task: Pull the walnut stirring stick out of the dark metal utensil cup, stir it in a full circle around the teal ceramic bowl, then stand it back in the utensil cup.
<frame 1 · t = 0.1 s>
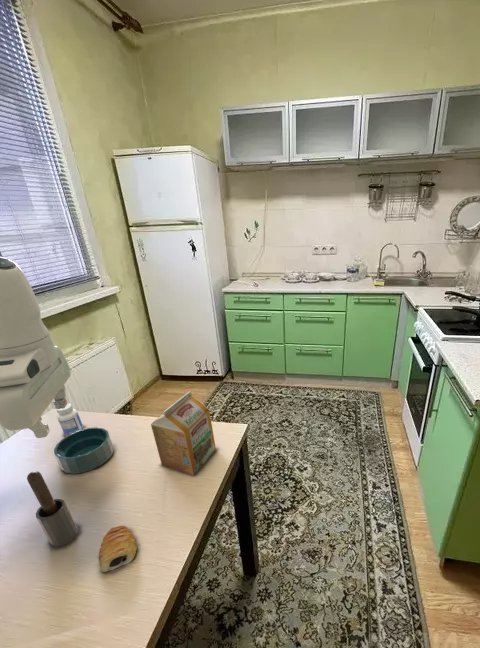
hand: (53, 420, 62), 27 cm above the table, tool pointing down, fingers open, 8 cm apart
stick: (64, 535, 70), point 1 cm above the table, touching holder
pill bottle: (74, 432, 104), on the table
holder: (65, 537, 70), on the table
pastry: (118, 553, 67), on the table
bowl: (88, 458, 92), on the table
milk carton: (189, 458, 91), on the table
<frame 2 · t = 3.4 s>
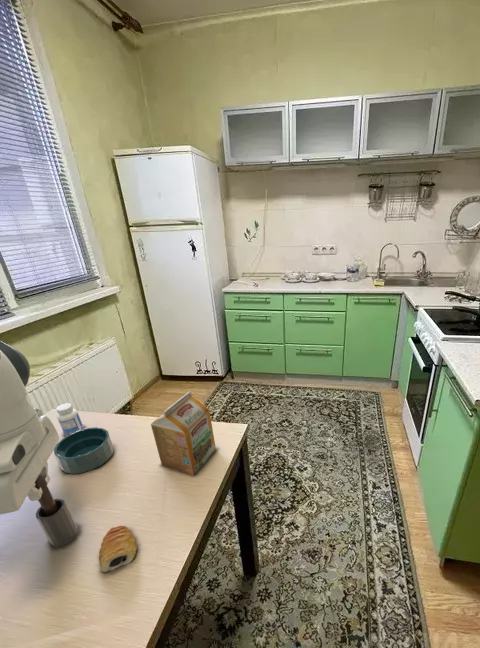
hand: (41, 490, 64), 14 cm above the table, tool pointing down, fingers closed on stick, 2 cm apart
stick: (64, 535, 70), point 1 cm above the table, touching gripper, holder
everything else where it was.
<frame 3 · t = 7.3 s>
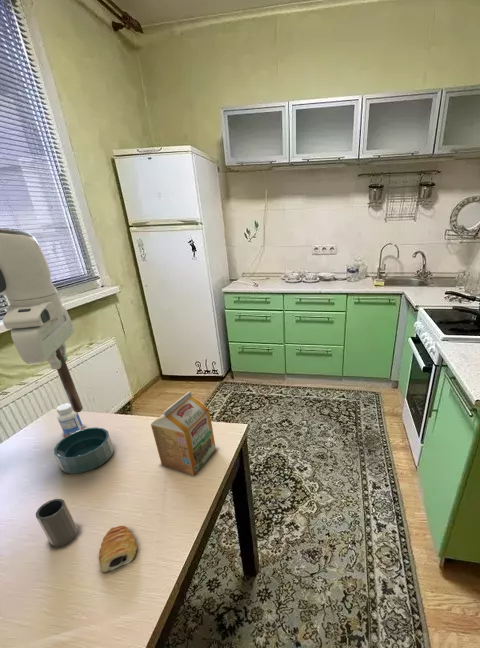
hand: (60, 364, 77), 31 cm above the table, tool pointing down, fingers closed on stick, 2 cm apart
stick: (79, 411, 83), point 17 cm above the table, touching gripper
everything else where it was.
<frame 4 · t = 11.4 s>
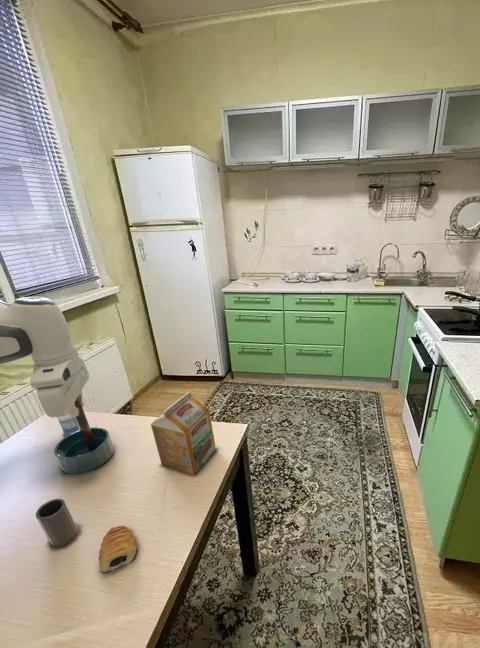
hand: (77, 411, 84), 16 cm above the table, tool pointing down, fingers closed on stick, 2 cm apart
stick: (94, 451, 91), point 3 cm above the table, touching gripper
everything else where it was.
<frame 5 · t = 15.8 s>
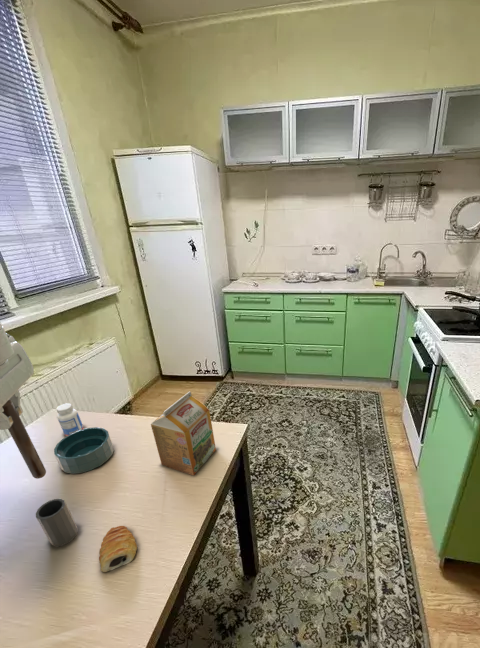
hand: (11, 421, 58), 30 cm above the table, tool pointing down, fingers closed on stick, 2 cm apart
stick: (41, 476, 64), point 16 cm above the table, touching gripper
everything else where it was.
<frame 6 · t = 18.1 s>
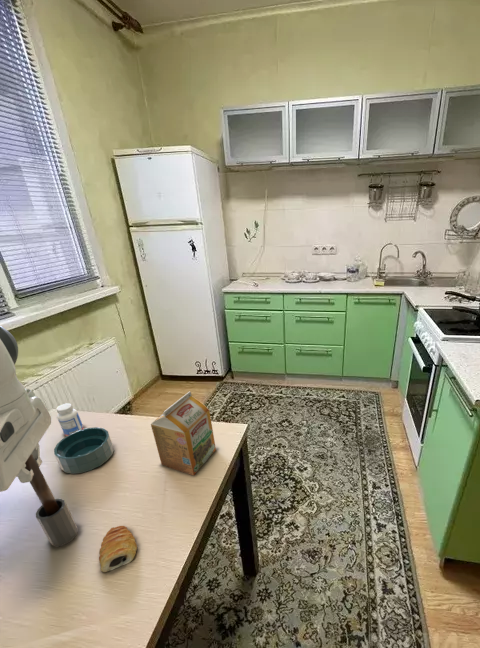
hand: (32, 473, 62), 19 cm above the table, tool pointing down, fingers closed on stick, 2 cm apart
stick: (58, 520, 68), point 5 cm above the table, touching gripper
everything else where it was.
when the fingers open (14 cm above the table, at t = 19.5 s): stick stays where it is, resting on holder.
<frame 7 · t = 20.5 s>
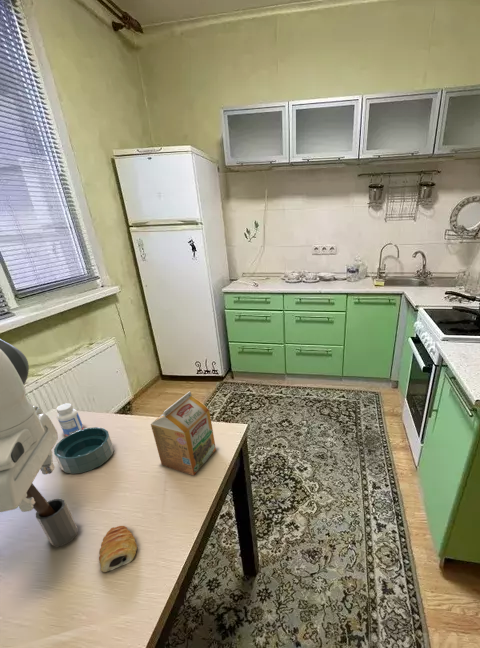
hand: (40, 488, 63), 15 cm above the table, tool pointing down, fingers open, 8 cm apart
stick: (65, 535, 70), point 1 cm above the table, tilted 8°, touching holder
everything else where it was.
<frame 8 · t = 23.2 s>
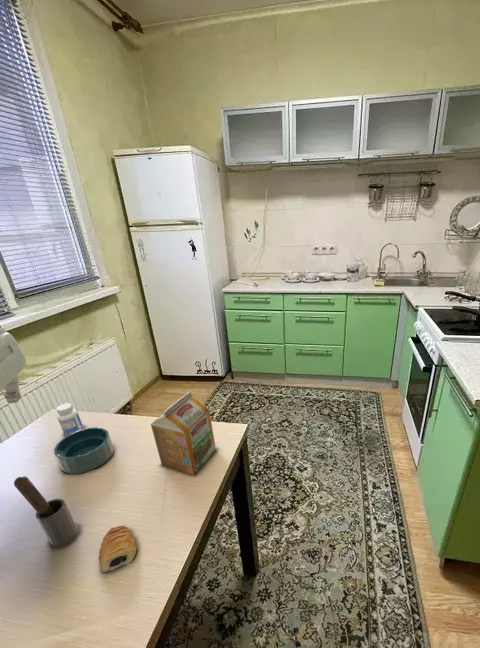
hand: (2, 415, 56), 32 cm above the table, tool pointing down, fingers open, 8 cm apart
nothing on the table moved.
at the end: stick 0.2 cm off-centre in the holder, point 0.6 cm above the holder's base; stick tilted 8°; stick touching holder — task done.
